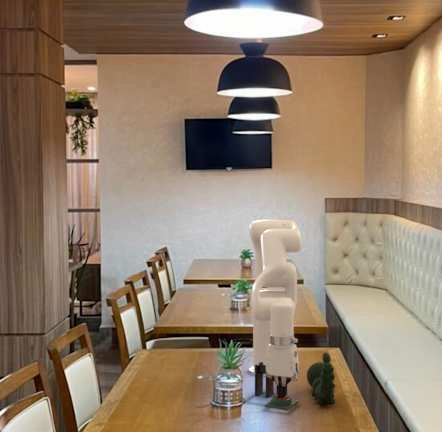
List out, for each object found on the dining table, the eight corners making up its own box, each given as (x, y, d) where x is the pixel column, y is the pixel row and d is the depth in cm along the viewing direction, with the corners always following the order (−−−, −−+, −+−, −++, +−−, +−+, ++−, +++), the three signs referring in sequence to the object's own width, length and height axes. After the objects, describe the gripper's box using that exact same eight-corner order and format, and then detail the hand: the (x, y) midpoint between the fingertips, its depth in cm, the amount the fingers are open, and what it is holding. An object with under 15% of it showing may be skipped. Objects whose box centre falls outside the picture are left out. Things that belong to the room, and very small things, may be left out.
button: (279, 400, 216) (279, 394, 216) (288, 401, 215) (288, 396, 215) (275, 402, 213) (275, 397, 213) (284, 404, 212) (284, 398, 212)
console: (276, 402, 220) (276, 391, 220) (298, 405, 217) (298, 395, 216) (264, 410, 212) (264, 399, 212) (287, 414, 208) (287, 403, 208)
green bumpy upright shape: (342, 415, 212) (330, 385, 237) (343, 359, 210) (331, 333, 234) (312, 416, 212) (304, 385, 237) (313, 359, 209) (304, 334, 234)
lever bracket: (259, 392, 231) (259, 358, 230) (283, 395, 227) (283, 361, 226) (244, 402, 220) (244, 367, 219) (269, 406, 216) (269, 370, 216)
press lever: (268, 380, 232) (269, 373, 233) (281, 382, 230) (282, 375, 231) (255, 371, 223) (256, 364, 223) (268, 372, 220) (270, 365, 221)
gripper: (308, 340, 213) (307, 396, 214) (265, 336, 220) (265, 390, 220) (299, 345, 206) (299, 403, 207) (255, 340, 213) (255, 397, 214)
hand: (281, 396), depth 214 cm, fingers closed
